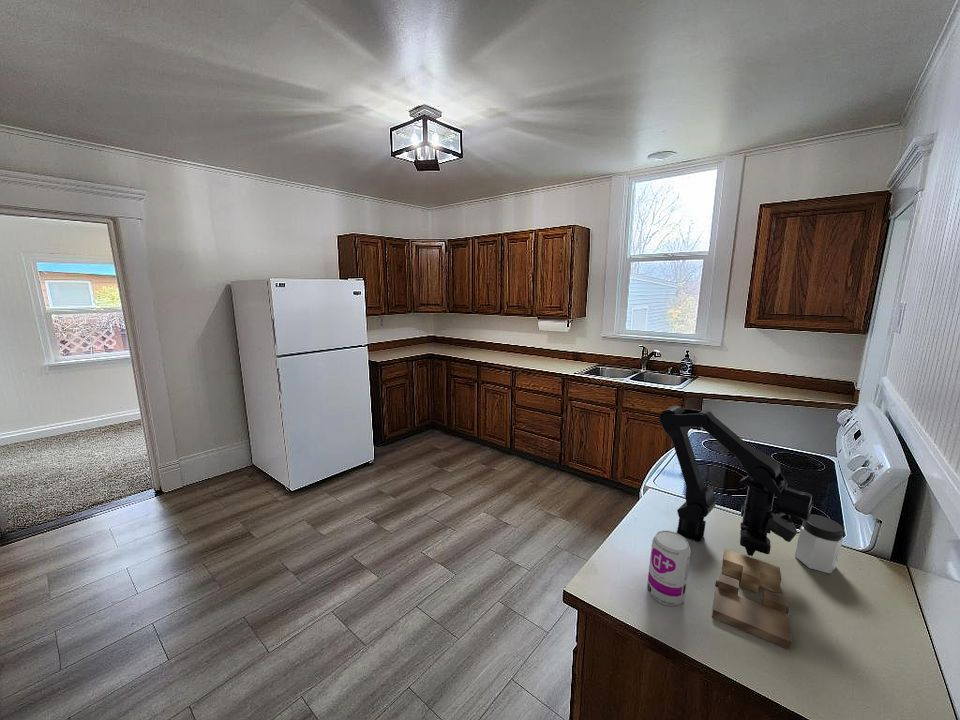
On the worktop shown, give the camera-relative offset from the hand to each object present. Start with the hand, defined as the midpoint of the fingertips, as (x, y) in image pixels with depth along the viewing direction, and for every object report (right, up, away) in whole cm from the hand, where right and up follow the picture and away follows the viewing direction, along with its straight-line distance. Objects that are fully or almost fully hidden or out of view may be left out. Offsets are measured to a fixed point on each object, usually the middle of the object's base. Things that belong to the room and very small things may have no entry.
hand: (749, 554), depth 106 cm
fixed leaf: (-12, -5, -17) cm, 22 cm away
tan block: (-5, -3, -7) cm, 9 cm away
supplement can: (-29, -4, -12) cm, 32 cm away
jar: (+18, -2, 0) cm, 18 cm away
